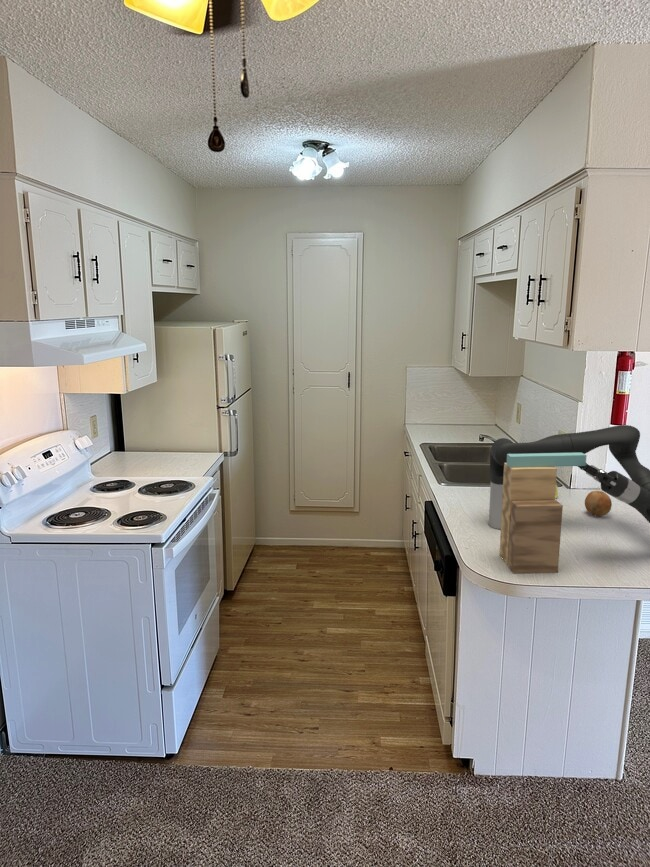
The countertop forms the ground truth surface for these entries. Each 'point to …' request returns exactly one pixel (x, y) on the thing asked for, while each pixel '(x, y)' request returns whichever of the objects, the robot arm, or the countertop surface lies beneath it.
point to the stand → (523, 494)
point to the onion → (598, 503)
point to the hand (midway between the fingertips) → (579, 463)
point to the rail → (546, 459)
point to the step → (535, 536)
